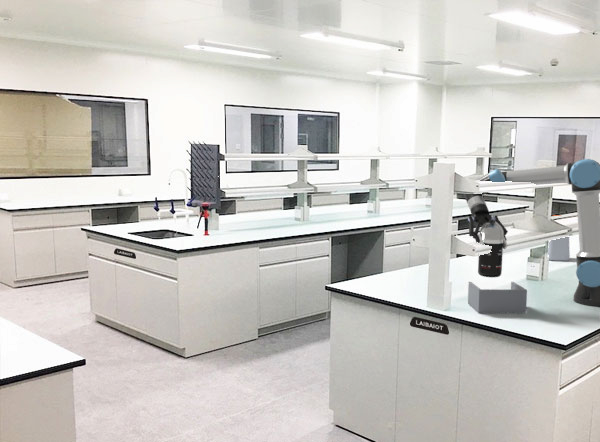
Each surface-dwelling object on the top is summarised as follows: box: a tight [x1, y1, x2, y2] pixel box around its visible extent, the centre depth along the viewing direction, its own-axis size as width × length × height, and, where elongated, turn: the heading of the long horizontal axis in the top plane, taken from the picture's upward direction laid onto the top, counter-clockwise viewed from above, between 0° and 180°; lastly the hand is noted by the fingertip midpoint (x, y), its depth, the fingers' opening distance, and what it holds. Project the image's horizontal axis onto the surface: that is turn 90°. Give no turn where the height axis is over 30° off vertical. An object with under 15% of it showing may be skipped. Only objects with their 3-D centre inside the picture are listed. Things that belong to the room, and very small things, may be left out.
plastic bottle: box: [548, 214, 571, 262], centre depth 358 cm, size 15×15×28 cm
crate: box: [467, 281, 528, 314], centre depth 244 cm, size 20×16×10 cm
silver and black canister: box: [477, 220, 504, 278], centre depth 248 cm, size 10×10×25 cm
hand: (494, 247), depth 245 cm, fingers closed on silver and black canister, 10 cm apart
